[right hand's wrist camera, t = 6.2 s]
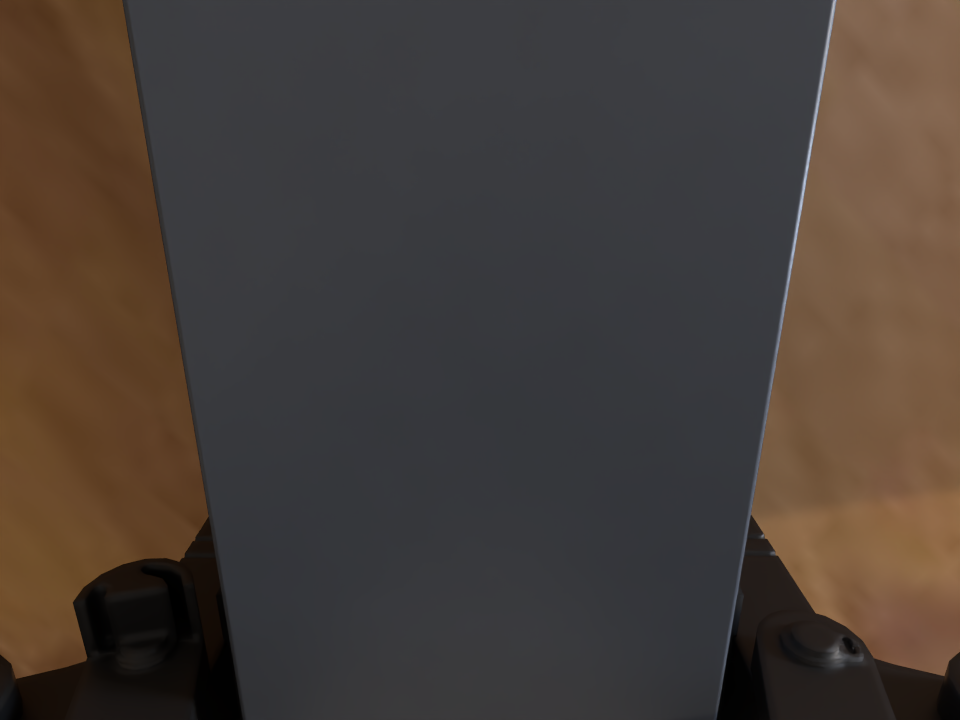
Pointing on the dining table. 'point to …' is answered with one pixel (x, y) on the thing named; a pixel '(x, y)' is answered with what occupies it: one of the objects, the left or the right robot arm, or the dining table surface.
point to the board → (479, 335)
